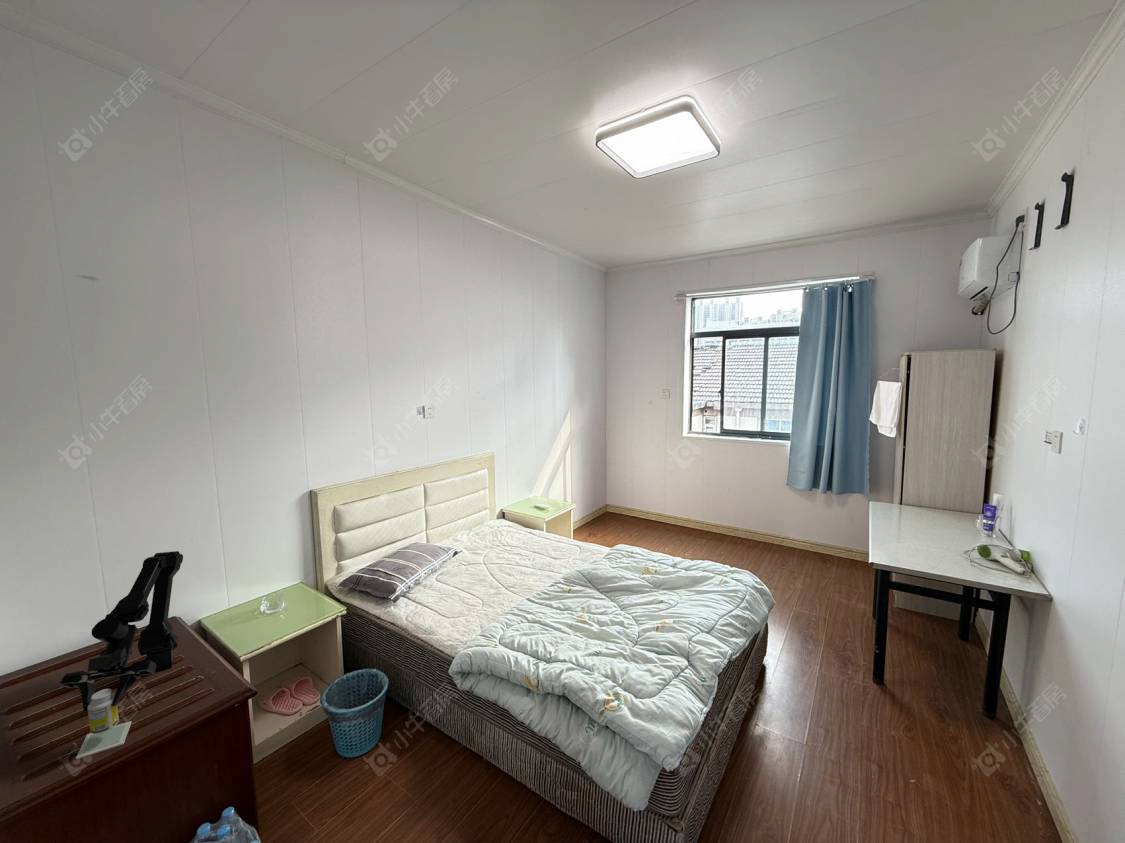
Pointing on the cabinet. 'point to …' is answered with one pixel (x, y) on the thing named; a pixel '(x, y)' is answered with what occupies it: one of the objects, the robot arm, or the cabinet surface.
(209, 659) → the cabinet surface
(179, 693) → the cabinet surface
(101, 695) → the supplement bottle
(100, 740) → the card
